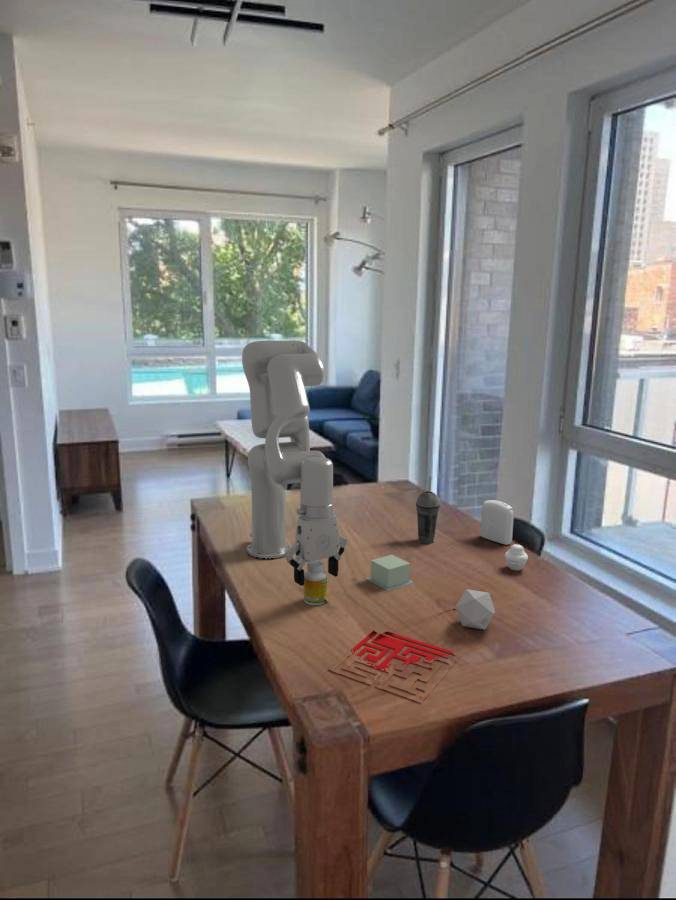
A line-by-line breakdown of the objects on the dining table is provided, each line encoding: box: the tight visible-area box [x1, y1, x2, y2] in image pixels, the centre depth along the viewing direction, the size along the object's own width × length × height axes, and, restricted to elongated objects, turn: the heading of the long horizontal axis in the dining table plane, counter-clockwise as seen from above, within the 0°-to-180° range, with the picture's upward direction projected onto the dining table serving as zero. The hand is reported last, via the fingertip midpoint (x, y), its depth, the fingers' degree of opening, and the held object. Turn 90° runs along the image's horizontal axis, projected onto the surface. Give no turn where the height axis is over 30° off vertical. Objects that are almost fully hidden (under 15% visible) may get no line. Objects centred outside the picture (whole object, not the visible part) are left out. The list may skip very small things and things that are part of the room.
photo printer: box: [480, 499, 515, 546], centre depth 200 cm, size 10×4×12 cm, turn 39°
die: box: [455, 589, 496, 631], centre depth 147 cm, size 8×9×10 cm
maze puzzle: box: [350, 630, 455, 674], centre depth 132 cm, size 20×20×1 cm
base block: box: [370, 554, 411, 588], centre depth 167 cm, size 7×7×5 cm
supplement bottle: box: [303, 560, 328, 606], centre depth 157 cm, size 5×5×10 cm
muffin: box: [504, 543, 529, 571], centre depth 179 cm, size 6×6×7 cm
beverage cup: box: [415, 476, 441, 545], centre depth 197 cm, size 7×7×20 cm
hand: (316, 579), depth 156 cm, fingers open, 9 cm apart
